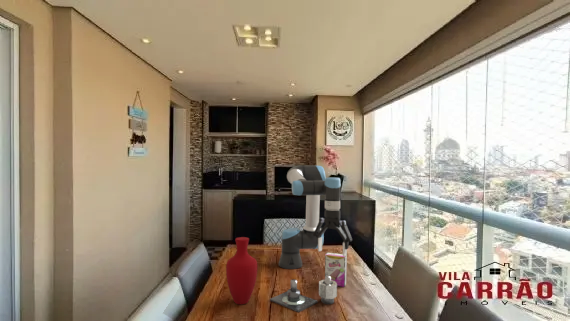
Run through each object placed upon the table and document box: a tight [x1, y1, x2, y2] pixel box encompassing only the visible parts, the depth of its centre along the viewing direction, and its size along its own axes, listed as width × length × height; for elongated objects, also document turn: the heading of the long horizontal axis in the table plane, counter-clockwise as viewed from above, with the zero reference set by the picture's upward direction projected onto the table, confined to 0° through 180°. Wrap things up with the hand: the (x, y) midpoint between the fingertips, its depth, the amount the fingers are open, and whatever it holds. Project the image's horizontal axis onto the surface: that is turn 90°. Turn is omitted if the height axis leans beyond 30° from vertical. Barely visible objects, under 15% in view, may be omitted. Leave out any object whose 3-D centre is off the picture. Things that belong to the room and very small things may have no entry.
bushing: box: [318, 279, 338, 299], centre depth 154 cm, size 8×8×6 cm
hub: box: [269, 278, 318, 313], centre depth 153 cm, size 18×14×10 cm
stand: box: [320, 275, 335, 305], centre depth 154 cm, size 6×6×12 cm
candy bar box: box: [324, 252, 348, 288], centre depth 175 cm, size 11×5×16 cm, turn 71°
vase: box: [225, 236, 258, 305], centre depth 153 cm, size 15×15×30 cm
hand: (332, 253), depth 156 cm, fingers open, 13 cm apart
